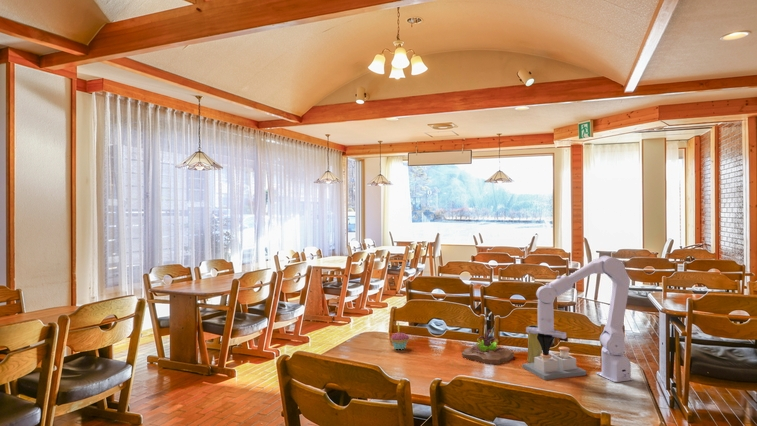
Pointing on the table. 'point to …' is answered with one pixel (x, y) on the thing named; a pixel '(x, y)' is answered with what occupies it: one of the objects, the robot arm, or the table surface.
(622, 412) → the table surface
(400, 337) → the cupcake
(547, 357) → the knob
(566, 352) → the knob
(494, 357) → the plant
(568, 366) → the panel
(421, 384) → the table surface
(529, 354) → the vase
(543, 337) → the robot arm
